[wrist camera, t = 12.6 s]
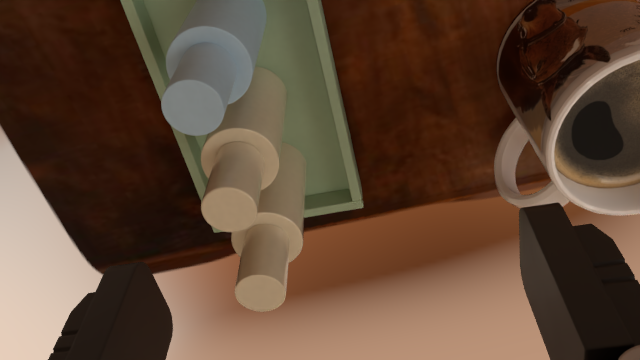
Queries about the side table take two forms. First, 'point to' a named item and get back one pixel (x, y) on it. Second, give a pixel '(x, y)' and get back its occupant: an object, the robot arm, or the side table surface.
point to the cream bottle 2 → (272, 236)
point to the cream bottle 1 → (244, 153)
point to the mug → (574, 103)
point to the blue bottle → (211, 62)
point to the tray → (300, 82)
